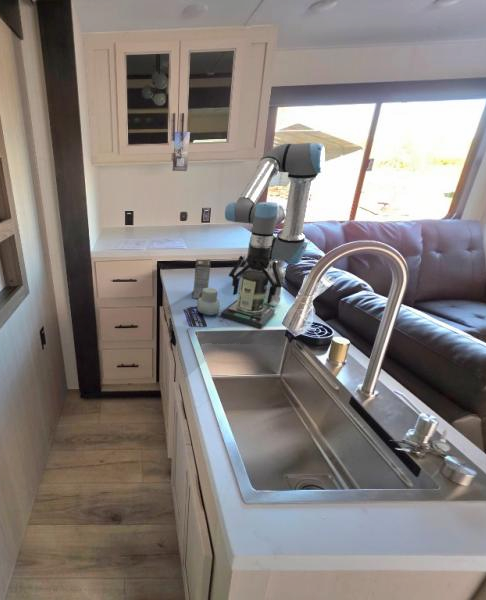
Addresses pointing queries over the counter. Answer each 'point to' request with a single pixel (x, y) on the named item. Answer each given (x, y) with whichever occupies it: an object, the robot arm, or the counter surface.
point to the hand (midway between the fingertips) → (251, 298)
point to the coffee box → (201, 277)
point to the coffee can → (252, 291)
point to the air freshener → (208, 302)
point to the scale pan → (253, 315)
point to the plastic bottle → (276, 297)
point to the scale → (247, 317)
